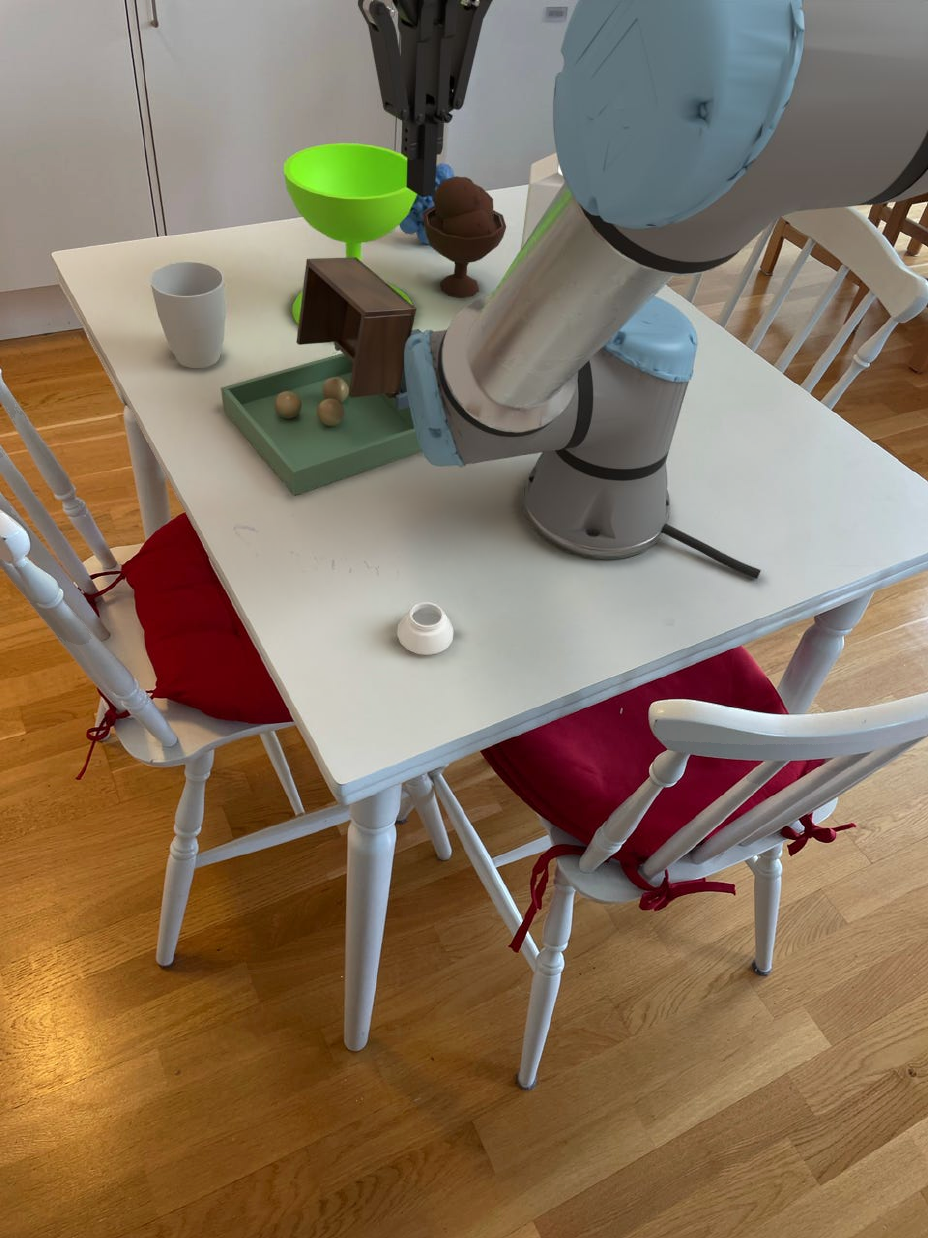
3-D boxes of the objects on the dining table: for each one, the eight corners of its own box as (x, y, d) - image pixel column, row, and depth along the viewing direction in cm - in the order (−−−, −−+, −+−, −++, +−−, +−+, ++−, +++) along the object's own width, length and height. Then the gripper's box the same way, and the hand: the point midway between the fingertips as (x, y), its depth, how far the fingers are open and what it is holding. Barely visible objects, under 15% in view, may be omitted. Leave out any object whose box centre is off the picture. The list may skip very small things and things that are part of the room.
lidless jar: (450, 660, 85) (454, 619, 88) (452, 638, 83) (456, 597, 86) (394, 654, 85) (400, 614, 88) (395, 632, 83) (401, 591, 86)
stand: (471, 423, 110) (476, 373, 105) (396, 448, 106) (398, 398, 101) (408, 364, 117) (409, 315, 112) (335, 386, 113) (334, 336, 108)
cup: (215, 332, 119) (206, 255, 112) (244, 364, 115) (236, 286, 107) (152, 348, 115) (138, 270, 108) (180, 382, 111) (167, 302, 104)
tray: (434, 447, 106) (435, 424, 104) (294, 495, 99) (293, 472, 97) (356, 371, 115) (356, 348, 113) (223, 410, 108) (220, 387, 106)
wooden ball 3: (336, 403, 104) (320, 425, 104) (354, 413, 106) (338, 435, 107) (323, 389, 105) (307, 411, 106) (340, 399, 108) (325, 421, 108)
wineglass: (266, 316, 122) (254, 173, 109) (338, 269, 132) (335, 132, 119) (371, 357, 118) (372, 212, 105) (437, 304, 128) (445, 166, 115)
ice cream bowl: (492, 313, 127) (503, 200, 116) (410, 299, 128) (414, 185, 117) (505, 276, 135) (517, 166, 124) (428, 263, 135) (433, 153, 125)
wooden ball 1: (309, 415, 107) (302, 395, 105) (285, 428, 106) (278, 407, 104) (296, 402, 109) (289, 381, 106) (273, 414, 108) (266, 393, 105)
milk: (557, 312, 129) (586, 141, 113) (557, 335, 125) (587, 161, 109) (512, 307, 129) (534, 135, 113) (510, 330, 125) (533, 155, 109)
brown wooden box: (419, 308, 96) (365, 311, 92) (400, 399, 102) (349, 406, 99) (359, 256, 102) (306, 258, 99) (345, 346, 109) (295, 350, 105)
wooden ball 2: (329, 410, 108) (352, 406, 110) (331, 387, 106) (355, 383, 108) (316, 397, 110) (339, 393, 111) (318, 373, 108) (342, 370, 109)
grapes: (400, 261, 135) (403, 175, 126) (384, 240, 139) (385, 155, 131) (476, 252, 139) (483, 167, 130) (458, 231, 143) (463, 148, 134)
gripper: (467, -124, 81) (451, 164, 98) (336, -117, 75) (342, 189, 92) (524, -106, 77) (496, 191, 94) (390, -97, 71) (386, 219, 88)
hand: (420, 190), depth 93 cm, fingers closed
